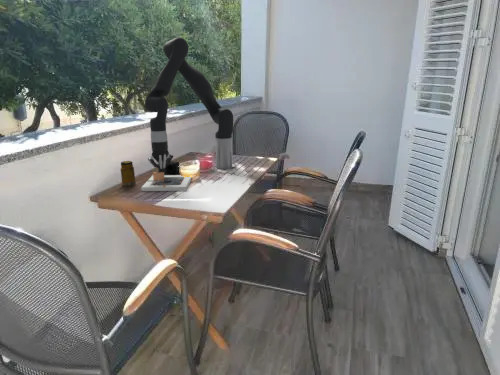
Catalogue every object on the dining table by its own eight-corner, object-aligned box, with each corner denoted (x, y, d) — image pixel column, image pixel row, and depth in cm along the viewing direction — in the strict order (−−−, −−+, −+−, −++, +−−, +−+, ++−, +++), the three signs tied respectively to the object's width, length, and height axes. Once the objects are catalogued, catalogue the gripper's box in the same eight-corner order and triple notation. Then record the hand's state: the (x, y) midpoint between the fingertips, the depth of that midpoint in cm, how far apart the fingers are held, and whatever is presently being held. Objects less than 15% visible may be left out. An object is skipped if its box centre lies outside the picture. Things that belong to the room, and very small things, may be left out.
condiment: (124, 184, 173) (122, 160, 169) (142, 184, 173) (139, 160, 169) (119, 188, 166) (116, 163, 162) (137, 188, 166) (134, 163, 162)
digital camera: (157, 175, 188) (156, 162, 186) (162, 172, 193) (161, 160, 191) (174, 176, 185) (174, 163, 183) (179, 174, 190) (178, 161, 188)
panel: (192, 179, 179) (192, 174, 178) (186, 192, 160) (185, 186, 159) (152, 180, 179) (152, 175, 178) (142, 192, 160) (141, 186, 159)
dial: (181, 180, 174) (181, 169, 173) (177, 187, 164) (177, 175, 162) (156, 181, 174) (155, 169, 172) (151, 187, 164) (150, 175, 162)
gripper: (167, 137, 174) (170, 171, 179) (142, 140, 165) (146, 176, 170) (175, 139, 168) (178, 174, 174) (150, 142, 160) (153, 179, 165)
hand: (162, 175), depth 172 cm, fingers closed
